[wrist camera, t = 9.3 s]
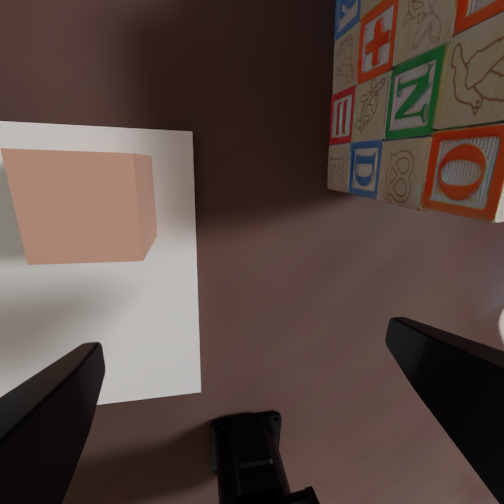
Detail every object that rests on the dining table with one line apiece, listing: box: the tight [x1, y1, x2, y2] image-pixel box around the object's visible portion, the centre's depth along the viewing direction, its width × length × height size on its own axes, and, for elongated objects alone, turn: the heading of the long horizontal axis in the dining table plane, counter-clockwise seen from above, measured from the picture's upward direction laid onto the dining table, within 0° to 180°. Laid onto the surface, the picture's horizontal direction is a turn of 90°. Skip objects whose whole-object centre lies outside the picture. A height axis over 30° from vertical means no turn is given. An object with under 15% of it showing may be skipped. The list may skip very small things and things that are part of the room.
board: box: [0, 121, 201, 405], centre depth 18 cm, size 20×24×1 cm
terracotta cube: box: [0, 148, 157, 265], centre depth 14 cm, size 5×5×5 cm
